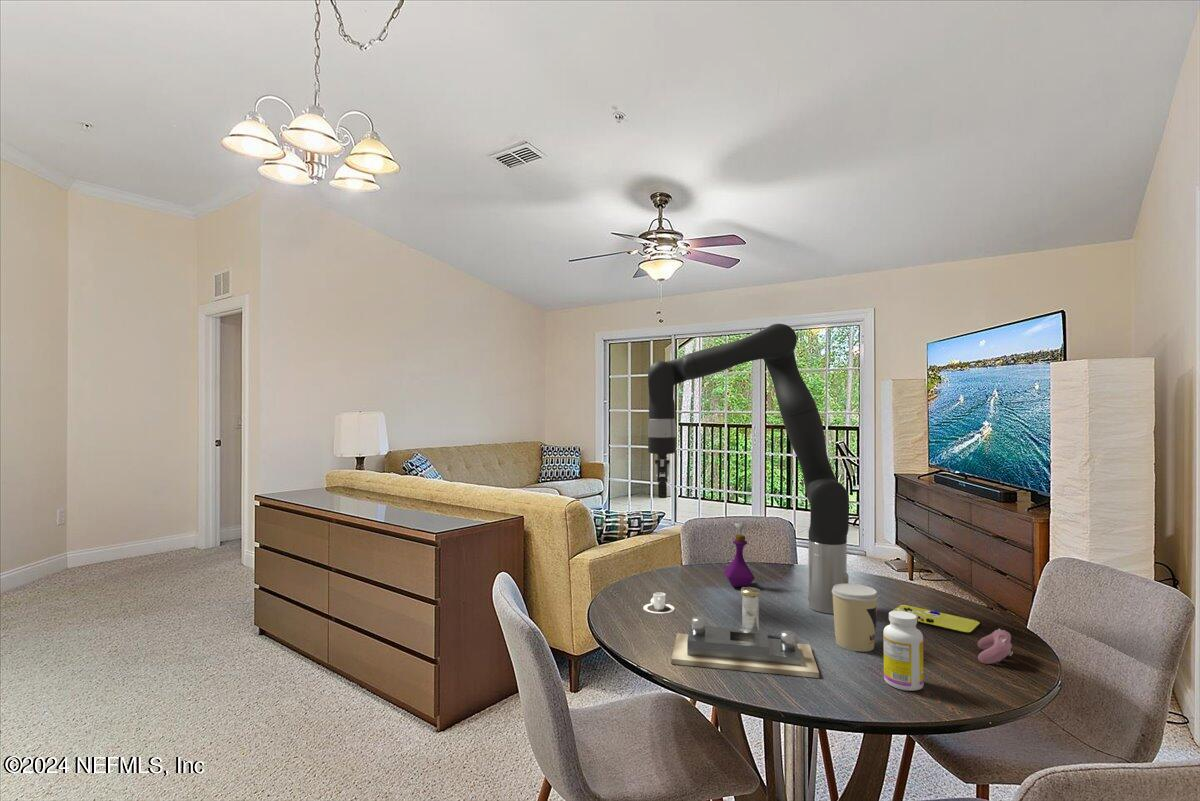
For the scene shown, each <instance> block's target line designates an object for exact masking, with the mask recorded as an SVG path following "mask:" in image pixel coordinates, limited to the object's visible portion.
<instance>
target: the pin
mask: <svg viewBox="0 0 1200 801" xmlns="http://www.w3.org/2000/svg"><path fill="white" fill-rule="evenodd" d="M740 594H741V595H742V596H741V598H742V600H741V601H742V602H741V604H742V606H741V608H742V613H741V617H742V618H741V619H742V621H741V623H742V624H741V625H742V626H741V629H747V630H759V628H760V627H759V626H760V625H759V623H760V622H759V621H760V619H759V617H760V616H759V614H760V612H759V611H760V610H759V608H760V607H759V606H760V605H759V604H760V598H759V597H760V595H761V590H760V589H759V588H756V587H751V586H748V587H745V588H740ZM759 631H760V630H759Z"/></svg>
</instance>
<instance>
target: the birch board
mask: <svg viewBox="0 0 1200 801" xmlns="http://www.w3.org/2000/svg"><path fill="white" fill-rule="evenodd" d="M688 634H689V633H688ZM688 634H687V633H678V632H677V633H676V638H675V642H674V644H673V645H674V647H673V649H672V655H671V659H670V660H671V661H670V662H671V665H678V666H679V665H680V666H688V667H689V666H690V667H702V668H708V669H709V668H710V669H711V668H713V669H719V670H720V669H721V670H730V671H731V670H733V671H742V672H751V673H752V672H754V673H763V674H773V675H774V674H775V675H785V676H792V677H793V676H794V677H795V676H796V677H804V678H813V679H814V678H816V679H819V678H820V671H819V668H818V666H817V663H816V660H815V657H814V654H813V651H812V649H811V648H812V647H811V646H810V644H805V643H797V646H798V649H799V653H800V656H801V666H798V665H788V664H777V663H766V662H755V661H744V660H734V659H723V658H712V657H701V656H691V655H687V640H688Z"/></svg>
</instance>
